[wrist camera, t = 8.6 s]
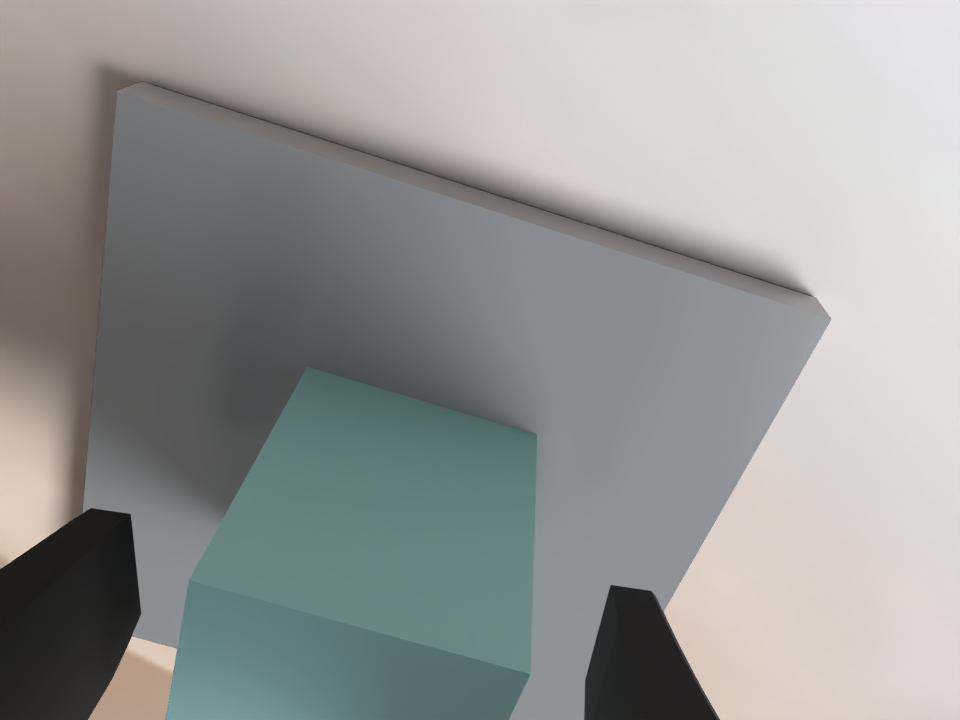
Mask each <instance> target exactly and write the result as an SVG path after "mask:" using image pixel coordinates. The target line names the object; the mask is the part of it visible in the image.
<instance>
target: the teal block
mask: <svg viewBox="0 0 960 720" xmlns="http://www.w3.org/2000/svg"><path fill="white" fill-rule="evenodd" d="M536 460H537V435H536V434H533V433H529V432H526V431H522V430H519V429H516V428H512V427H509V426H506V425H502V424H499V423H496V422H492V421H489V420H485V419H482V418H479V417H475V416H472V415H469V414H465V413H462V412H458V411H455V410H452V409H448V408H445V407H442V406H438V405H435V404H432V403H428V402H425V401H421V400H418V399H415V398H411V397H408V396H405V395H401V394H398V393H394V392H391V391H388V390H384V389H381V388H378V387H374V386H371V385H367V384H364V383H361V382H357V381H354V380H351V379H347V378H344V377H341V376H337V375H334V374H330V373H327V372H324V371H320V370H317V369H314V368H310V367H307V368H306V370H305V372H304V374H303V375H302V377H301V379H300V381H299V383H298V384H297V386H296V388H295V390H294V392H293V393H292V395H291V397H290V399H289V401H288V402H287V404H286V406H285V408H284V410H283V411H282V413H281V415H280V417H279V419H278V420H277V422H276V424H275V426H274V428H273V429H272V431H271V433H270V435H269V437H268V439H267V440H266V442H265V444H264V446H263V448H262V449H261V451H260V453H259V455H258V457H257V458H256V460H255V462H254V464H253V466H252V467H251V469H250V471H249V473H248V475H247V476H246V478H245V480H244V482H243V484H242V485H241V487H240V489H239V491H238V493H237V494H236V496H235V498H234V500H233V502H232V503H231V505H230V507H229V509H228V511H227V512H226V514H225V516H224V518H223V520H222V521H221V523H220V525H219V527H218V529H217V530H216V532H215V534H214V536H213V538H212V539H211V541H210V543H209V545H208V547H207V548H206V550H205V552H204V554H203V556H202V557H201V559H200V561H199V563H198V565H197V566H196V568H195V570H194V572H193V574H192V575H191V577H190V579H189V582H188V588H187V594H186V600H185V606H184V612H183V618H182V624H181V630H180V636H179V642H178V648H177V654H176V660H175V666H174V672H173V678H172V684H171V690H170V696H169V702H168V708H167V714H166V720H509V718H510V716H511V714H512V712H513V710H514V708H515V706H516V703H517V701H518V699H519V697H520V695H521V693H522V691H523V689H524V687H525V685H526V683H527V681H528V679H529V676H530V674H531V642H532V605H533V569H534V533H535V496H536Z"/></svg>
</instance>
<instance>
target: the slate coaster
mask: <svg viewBox="0 0 960 720" xmlns="http://www.w3.org/2000/svg"><path fill="white" fill-rule="evenodd" d="M830 321H831V318H830V317H829V315H828V314H827V312H826V311H825V310H824V308H823V307H822V305H821V304H820V303H819V301H818V300H817V298H815V297H812V296H809V295H805V294H802V293H799V292H796V291H793V290H790V289H787V288H784V287H780V286H777V285H774V284H771V283H768V282H765V281H762V280H759V279H756V278H752V277H749V276H746V275H743V274H740V273H737V272H734V271H731V270H728V269H724V268H721V267H718V266H715V265H712V264H709V263H706V262H703V261H699V260H696V259H693V258H690V257H687V256H684V255H681V254H678V253H675V252H671V251H668V250H665V249H662V248H659V247H656V246H653V245H650V244H647V243H643V242H640V241H637V240H634V239H631V238H628V237H625V236H622V235H618V234H615V233H612V232H609V231H606V230H603V229H600V228H597V227H594V226H590V225H587V224H584V223H581V222H578V221H575V220H572V219H569V218H566V217H562V216H559V215H556V214H553V213H550V212H547V211H544V210H541V209H538V208H534V207H531V206H528V205H525V204H522V203H519V202H516V201H513V200H509V199H506V198H503V197H500V196H497V195H494V194H491V193H488V192H485V191H481V190H478V189H475V188H472V187H469V186H466V185H463V184H460V183H457V182H453V181H450V180H447V179H444V178H441V177H438V176H435V175H432V174H428V173H425V172H422V171H419V170H416V169H413V168H410V167H407V166H404V165H400V164H397V163H394V162H391V161H388V160H385V159H382V158H379V157H376V156H372V155H369V154H366V153H363V152H360V151H357V150H354V149H351V148H347V147H344V146H341V145H338V144H335V143H332V142H329V141H326V140H323V139H319V138H316V137H313V136H310V135H307V134H304V133H301V132H298V131H295V130H291V129H288V128H285V127H282V126H279V125H276V124H273V123H270V122H267V121H263V120H260V119H257V118H254V117H251V116H248V115H245V114H242V113H238V112H235V111H232V110H229V109H226V108H223V107H220V106H217V105H214V104H210V103H207V102H204V101H201V100H198V99H195V98H192V97H189V96H186V95H182V94H179V93H176V92H173V91H170V90H167V89H164V88H161V87H157V86H154V85H151V84H148V83H145V82H139V83H136V84H134V85H131V86H128V87H126V88H123V89H120V90H118V91H117V95H116V108H115V120H114V132H113V144H112V157H111V169H110V181H109V194H108V206H107V218H106V230H105V243H104V255H103V267H102V279H101V292H100V304H99V316H98V329H97V341H96V353H95V365H94V378H93V390H92V402H91V414H90V427H89V439H88V451H87V464H86V476H85V488H84V500H83V513H84V512H85V511H87V510H89V509H90V508H94V509H101V510H108V511H114V512H121V513H128V514H131V520H132V529H133V539H134V548H135V558H136V567H137V577H138V587H139V596H140V606H141V616H140V618H139V621H138V623H137V625H136V627H135V630H134V632H133V634H132V636H133V637H137V638H140V639H144V640H148V641H151V642H155V643H159V644H162V645H166V646H170V647H174V648H178V642H179V636H180V630H181V624H182V618H183V612H184V606H185V600H186V594H187V588H188V582H189V579H190V577H191V575H192V574H193V572H194V570H195V568H196V566H197V565H198V563H199V561H200V559H201V557H202V556H203V554H204V552H205V550H206V548H207V547H208V545H209V543H210V541H211V539H212V538H213V536H214V534H215V532H216V530H217V529H218V527H219V525H220V523H221V521H222V520H223V518H224V516H225V514H226V512H227V511H228V509H229V507H230V505H231V503H232V502H233V500H234V498H235V496H236V494H237V493H238V491H239V489H240V487H241V485H242V484H243V482H244V480H245V478H246V476H247V475H248V473H249V471H250V469H251V467H252V466H253V464H254V462H255V460H256V458H257V457H258V455H259V453H260V451H261V449H262V448H263V446H264V444H265V442H266V440H267V439H268V437H269V435H270V433H271V431H272V429H273V428H274V426H275V424H276V422H277V420H278V419H279V417H280V415H281V413H282V411H283V410H284V408H285V406H286V404H287V402H288V401H289V399H290V397H291V395H292V393H293V392H294V390H295V388H296V386H297V384H298V383H299V381H300V379H301V377H302V375H303V374H304V372H305V370H306V368H307V367H310V368H314V369H317V370H320V371H324V372H327V373H330V374H334V375H337V376H341V377H344V378H347V379H351V380H354V381H357V382H361V383H364V384H367V385H371V386H374V387H378V388H381V389H384V390H388V391H391V392H394V393H398V394H401V395H405V396H408V397H411V398H415V399H418V400H421V401H425V402H428V403H432V404H435V405H438V406H442V407H445V408H448V409H452V410H455V411H458V412H462V413H465V414H469V415H472V416H475V417H479V418H482V419H485V420H489V421H492V422H496V423H499V424H502V425H506V426H509V427H512V428H516V429H519V430H522V431H526V432H529V433H533V434H536V435H537V460H536V496H535V533H534V569H533V605H532V642H531V674H530V676H529V679H528V681H527V683H526V685H525V687H524V689H523V691H522V693H521V695H520V697H519V699H518V701H517V703H516V706H515V708H514V710H513V712H512V714H511V716H510V718H509V720H584V711H585V679H586V675H587V671H588V667H589V664H590V660H591V656H592V652H593V649H594V645H595V641H596V637H597V634H598V630H599V626H600V622H601V619H602V615H603V611H604V607H605V604H606V600H607V596H608V592H609V589H610V585H615V586H622V587H629V588H635V589H642V590H649V591H652V592H653V593H654V595H655V596H656V597H657V599H658V601H659V604H660V606H661V608H662V610H663V612H664V610H665V608H666V606H667V605H668V603H669V601H670V599H671V598H672V596H673V594H674V592H675V591H676V589H677V587H678V585H679V584H680V582H681V580H682V578H683V577H684V575H685V573H686V571H687V570H688V568H689V566H690V564H691V563H692V561H693V559H694V558H695V556H696V554H697V552H698V551H699V549H700V547H701V545H702V544H703V542H704V540H705V538H706V537H707V535H708V533H709V531H710V530H711V528H712V526H713V524H714V523H715V521H716V519H717V517H718V516H719V514H720V512H721V510H722V509H723V507H724V505H725V504H726V502H727V500H728V498H729V497H730V495H731V493H732V491H733V490H734V488H735V486H736V484H737V483H738V481H739V479H740V477H741V476H742V474H743V472H744V470H745V469H746V467H747V465H748V463H749V462H750V460H751V458H752V456H753V455H754V453H755V451H756V450H757V448H758V446H759V444H760V443H761V441H762V439H763V437H764V436H765V434H766V432H767V430H768V429H769V427H770V425H771V423H772V422H773V420H774V418H775V416H776V415H777V413H778V411H779V409H780V408H781V406H782V404H783V402H784V401H785V399H786V397H787V396H788V394H789V392H790V390H791V389H792V387H793V385H794V383H795V382H796V380H797V378H798V376H799V375H800V373H801V371H802V369H803V368H804V366H805V364H806V362H807V361H808V359H809V357H810V355H811V354H812V352H813V350H814V348H815V347H816V345H817V343H818V342H819V340H820V338H821V336H822V335H823V333H824V331H825V329H826V328H827V326H828V324H829V322H830Z"/></svg>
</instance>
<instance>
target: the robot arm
mask: <svg viewBox="0 0 960 720" xmlns="http://www.w3.org/2000/svg"><path fill="white" fill-rule="evenodd" d="M140 616H141V606H140V596H139V587H138V577H137V567H136V558H135V548H134V539H133V529H132V520H131V514H128V513H121V512H114V511H108V510H101V509H94V508H90V509H89V510H87V511H85V512H84V513H82V514H81V515H79V516H78V517H76V518H75V519H73V520H72V521H70V522H69V523H67V524H66V525H64V526H63V527H62V528H60V529H59V530H57V531H56V532H54V533H53V534H51V535H50V536H48V537H47V538H46V539H44V540H43V541H41V542H40V543H38V544H37V545H35V546H34V547H32V548H31V549H29V550H28V551H27V552H25V553H24V554H22V555H21V556H19V557H18V558H16V559H15V560H13V561H12V562H10V563H9V564H7V565H6V566H4V567H3V568H1V569H0V720H88V718H89V717H90V715H91V713H92V712H93V710H94V708H95V707H96V705H97V703H98V702H99V700H100V698H101V697H102V695H103V693H104V692H105V690H106V688H107V687H108V685H109V683H110V681H111V680H112V678H113V676H114V674H115V671H116V670H117V667H118V665H119V663H120V661H121V658H122V656H123V655H124V652H125V650H126V648H127V646H128V644H129V641H130V639H131V637H132V634H133V632H134V630H135V627H136V625H137V623H138V621H139V618H140ZM584 720H720V719H719V717H718V716H717V714H716V712H715V710H714V709H713V707H712V705H711V703H710V702H709V700H708V698H707V696H706V695H705V693H704V691H703V689H702V688H701V686H700V684H699V682H698V680H697V678H696V676H695V675H694V673H693V671H692V669H691V667H690V665H689V663H688V661H687V659H686V657H685V655H684V653H683V651H682V650H681V648H680V646H679V644H678V642H677V640H676V638H675V635H674V633H673V631H672V629H671V627H670V625H669V623H668V621H667V619H666V617H665V615H664V612H663V610H662V608H661V606H660V604H659V601H658V599H657V597H656V596H655V595H654V593H653V592H652V591H649V590H642V589H635V588H629V587H622V586H615V585H610V589H609V592H608V596H607V600H606V604H605V607H604V611H603V615H602V619H601V622H600V626H599V630H598V634H597V637H596V641H595V645H594V649H593V652H592V656H591V660H590V664H589V667H588V671H587V675H586V679H585V711H584Z"/></svg>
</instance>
